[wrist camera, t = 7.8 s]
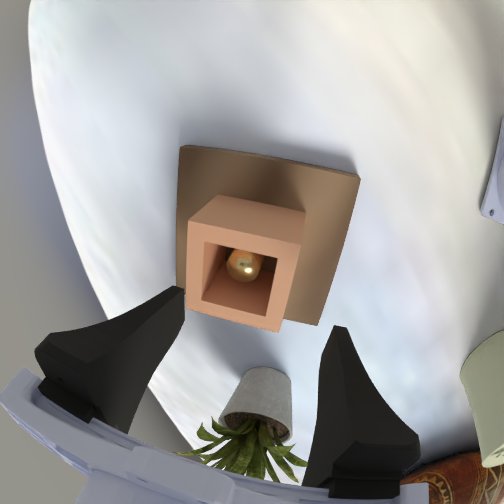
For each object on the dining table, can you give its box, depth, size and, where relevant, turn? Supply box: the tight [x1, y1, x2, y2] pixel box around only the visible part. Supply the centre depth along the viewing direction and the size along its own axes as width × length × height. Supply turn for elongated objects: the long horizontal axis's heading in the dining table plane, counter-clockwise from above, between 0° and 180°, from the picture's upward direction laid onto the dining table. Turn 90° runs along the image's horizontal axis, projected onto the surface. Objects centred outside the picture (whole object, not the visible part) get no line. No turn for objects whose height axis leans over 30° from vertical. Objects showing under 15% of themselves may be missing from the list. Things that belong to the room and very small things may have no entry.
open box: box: [186, 195, 306, 333], centre depth 19 cm, size 6×6×5 cm
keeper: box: [176, 145, 361, 326], centre depth 20 cm, size 12×12×5 cm
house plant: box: [174, 367, 308, 483], centre depth 22 cm, size 14×14×16 cm
